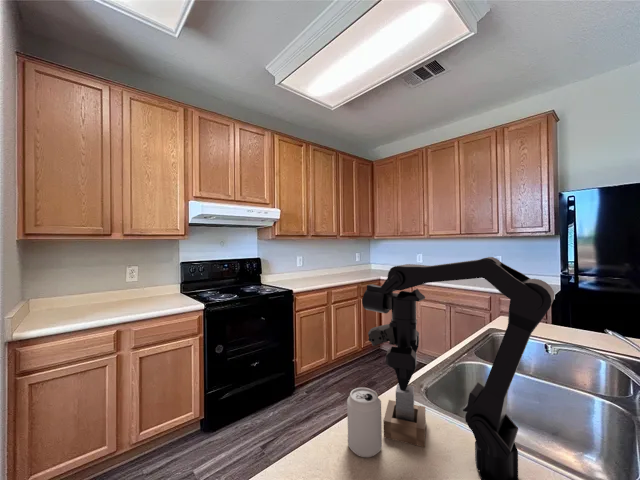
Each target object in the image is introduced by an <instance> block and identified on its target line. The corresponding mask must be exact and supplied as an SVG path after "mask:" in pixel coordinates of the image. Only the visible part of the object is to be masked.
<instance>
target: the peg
mask: <svg viewBox="0 0 640 480" xmlns="http://www.w3.org/2000/svg"><path fill="white" fill-rule="evenodd" d="M395 401H396V419H400V420H405V421H409V422H414V405H415V386H414V385H409V384H408V386H407V388H406V390H405V391H402V390H400V387H399V383H397V384H396V389H395ZM414 423H415V422H414Z"/></svg>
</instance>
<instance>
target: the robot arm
mask: <svg viewBox="0 0 640 480" xmlns="http://www.w3.org/2000/svg"><path fill="white" fill-rule="evenodd" d="M473 279H484V280H486V281H487V282H488V283H489V284H491V286H493V287H494V288H495V289H496V290H498V291H499V293H501V294H502V295H504V296H505V297H506V298H508V299H509V306H508V317H507V320H508V321H507V327H506V330H505V332H504V334H503V338H502V340H501V342H500V344H499V345H500V346H499V348H498V350H497V353H496V355H495V358H494V359H493V362H492V366H491V369H490V372H489V373H488V376H487V379H486V381H485V383H484V385H482V384H481V382H476V384H475V385H474V387H473V388H472V389H471V391H470V392H469V394H468V399H467V403H466V405H465V406H464V407H463V409H462V411H463V412H465V417H464V420H465V423H466V424H467V426H468V428H469V429H470V430H471V431H472V434H473V436H474V440H475V442H474V451H475V452H474V456H475V457H474V462H475V466H476V469H477V471H478V472H479V475H480V477H479V478H480V480H519V450H518V448H517V446H516V443H515V441H516V437H517V434H518V431H519V427H518V425H517V424H515V422H513V420H512V418H511V417H509V415H508V414H507V413H506V412H507V407H508V406H507V405H508V394H509V390H510V387H511V385H512V382H513V379H514V377H515V376H516V375H515V374H516V372H517V370H518V368H519V366H520V365H519V364H520V362H521V360H522V358H523V354H524V352H525V350H526V348H527V345H528V343H529V341H530V338H531V335H532V333H533V332H534V331H535V329H536V328H537V327H538V326H539V324H540V323H541V321H542V320H543V319H544V317H545V316H546V314H547V313H548V311H549V310H550V308H551V306H552V305H553V302H554V300H555V291H554V290H553V288H552V286H551V285H549V283H547V281H544V280H542V279H539V278H538V279H537V278H531V277H529V276H528V275H525V274H523V273H522V272H521V271H518V270H516V269H514V268H512V267H510V266H509V265H506V264H505V263H504V262H502V261H500V259H498V258H496V257H493V256H488V257H487V256H486V257H484V258H479V259H474V260H466V261H465V260H464V261H457V262H451V263H450V262H449V263H443V264H435V265H425V264H413V263H412V264H411V263H408V264H407V263H406V264H401V265H395V266H392V267H390V269H389V271H388V273H387V278H386V279H385V281H384V282H383V284H382V285H376V284H373V283H372V284H368V285H366V290H365V291H364V293H363V297H362V299H361V302H362V303H361V304H362V306H363V309H364V310H366V311H372V312H376V313H382V314H388V313H389V312H390V311H391V320H390V322H389V323H387V324H386V323H385V324H382V325H378V326H374V327H372V328H370V329H369V331H368V332H367V335H368V340H367V341H368V342H370V343H371V345H372V347H373V346H376V347H377V346H378V345H380V344H384V343H385V344H386V343H388V345H391V347H390V348H388V349H387V352H386V355H385V364H386V366H388V367H390V368H392V369H393V370H394V372H395V374H396V375H395V376H396V379H397V382H398V383H397V384H399V387H400V390H402V391H405V390H406V388H407V386H408V385H409V383H410V380H411V379H412V377H413V375H414V372H415V371H416V369H417V358H418V357H417V353H418V349H419V345H420V344H419V343H420V332H419V331H418V330H417V327H418V326H417V324H418V319H417V302H420V301H423V300H425V299H426V296H425V295H424V294H423V293H421V291H420V290H419V289H418V288H416V289H413V290H412V291H407V289H410V288H411V289H412V288H415V287H418V286H421V285H425V284H429V283H439V282H441V283H442V282H451V281H462V280H464V281H465V280H473ZM396 291H400V292H398V293H395V292H396ZM392 345H393V346H392Z"/></svg>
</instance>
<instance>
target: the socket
mask: <svg viewBox="0 0 640 480" xmlns="http://www.w3.org/2000/svg"><path fill="white" fill-rule="evenodd" d="M414 422H415V423H414ZM414 422H409V421H405V420H400V419H396V400H391V399H388V402H387V406H386V409H385V414H384V417H383V438H384V439H388V440H393V441H396V442H401V443H405V444H410V445H414V446H418V447H421V448H426V447H425V445H426V423H427V422H426V406H424V405H417V404H414Z"/></svg>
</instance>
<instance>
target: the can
mask: <svg viewBox="0 0 640 480" xmlns="http://www.w3.org/2000/svg"><path fill="white" fill-rule="evenodd" d="M349 393H350V394H349V396H348V397H347V399H346V403H347V404H346V405H347V407H346V408H347V409H346V410H347V411H346V413H347V445H348V447H349V449H350V450H351V451H352V452H353V453H355V455H357V456H358V457H361V458H371V457H374V456H375V455H377V454H378V453H380V451H381V450H382V446H383V438H382V437H383V436H382V432H383V430H382V428H383V427H382V401H381V399H380V398H379V395H378V393H377V392H376V391H375V390H374V389H372V388H369V387H356V388H354V389H352V390H351V391H350V392H349Z"/></svg>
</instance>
